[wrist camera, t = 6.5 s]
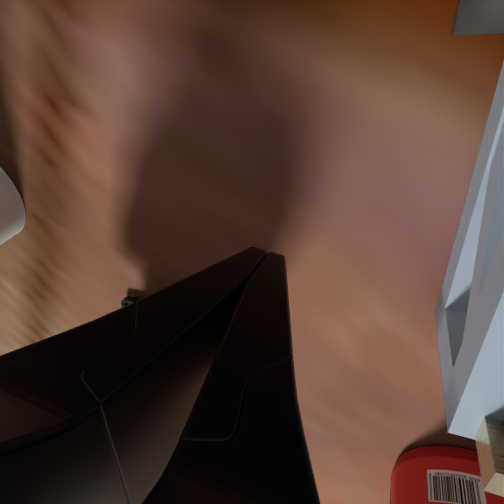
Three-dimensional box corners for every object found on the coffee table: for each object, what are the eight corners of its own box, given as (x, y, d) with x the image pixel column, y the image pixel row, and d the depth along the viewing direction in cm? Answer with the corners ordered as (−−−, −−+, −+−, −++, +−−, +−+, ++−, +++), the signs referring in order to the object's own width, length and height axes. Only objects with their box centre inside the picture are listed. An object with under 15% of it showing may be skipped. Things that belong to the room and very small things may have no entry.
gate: (513, 25, 10) (606, 31, 5) (565, 21, 9) (714, 24, 5) (435, 312, 16) (447, 432, 11) (465, 317, 15) (491, 444, 11)
